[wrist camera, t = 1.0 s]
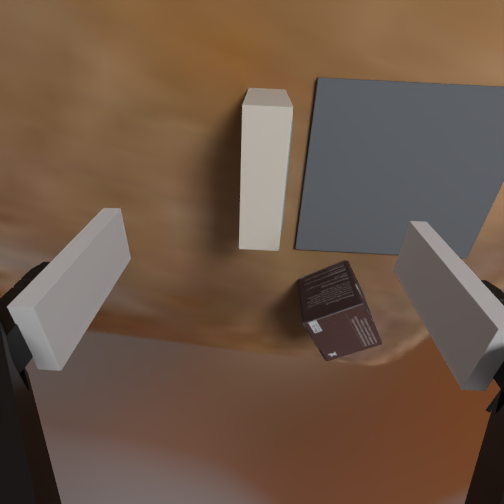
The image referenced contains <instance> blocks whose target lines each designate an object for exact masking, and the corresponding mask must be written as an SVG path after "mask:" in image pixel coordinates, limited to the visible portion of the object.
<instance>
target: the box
mask: <svg viewBox="0 0 504 504" xmlns="http://www.w3.org/2000/svg"><path fill="white" fill-rule="evenodd" d="M298 284H299V292H300V302H301V310H302V318H303V325H304V327H305V328H306V330H307V332H308V333H309V335H310V336H311V338H312V339H313V342H314V344H315V345H316V347H317V348H318V349H319V351H320V352H321V354H322V356H323V357H324V359H325V360H326V361H329V360H333V359H336V358H339V357H342V356H345V355H348V354H352V353H355V352H358V351H361V350H365V349H368V348H371V347H375V346H378V345H381V344H382V341H381V339H380V336H379V334H378V332H377V329H376V326H375V324H374V321H373V319H372V316H371V313H370V310H369V308H368V305H367V303H366V300H365V297H364V295H363V293H362V290H361V288H360V286H359V283H358V281H357V279H356V277H355V275H354V273H353V271H352V269H351V267H350V264H349V262H348V261H346V260H345V261H342V262H340V263H337V264H335V265H332V266H330V267H328V268H325V269H323V270H320V271H318V272H315V273H312V274H310V275H307V276H304V277H302V278H300V279H298Z"/></svg>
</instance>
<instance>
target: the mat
mask: <svg viewBox="0 0 504 504" xmlns="http://www.w3.org/2000/svg"><path fill="white" fill-rule="evenodd" d="M503 181H504V87H500V86H480V85H459V84H439V83H419V82H399V81H379V80H359V79H339V78H318V79H317V87H316V94H315V102H314V109H313V117H312V124H311V132H310V139H309V147H308V155H307V162H306V170H305V177H304V185H303V192H302V200H301V208H300V215H299V223H298V230H297V238H296V245H295V249H301V250H320V251H338V252H357V253H375V254H393V255H399V252H400V249H401V246H402V243H403V240H404V236H405V233H406V230H407V227H408V224H409V221H423V222H427V223H428V224H429V225H430V226H431V227H432V228H433V229H434V230H435V231H436V232H437V234H438V235H439V236H440V237H441V238H442V239H443V240H444V241H445V242H446V243H447V244H448V246H449V247H450V248H451V249H452V250H453V251H454V252H455V253H456V254H457V255H458V256H459V258H467V257H468V255H469V253H470V251H471V249H472V247H473V244H474V242H475V240H476V238H477V236H478V234H479V232H480V230H481V228H482V226H483V223H484V221H485V219H486V217H487V215H488V213H489V211H490V209H491V207H492V204H493V202H494V200H495V198H496V196H497V194H498V192H499V190H500V188H501V186H502V183H503Z"/></svg>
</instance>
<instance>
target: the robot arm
mask: <svg viewBox="0 0 504 504" xmlns="http://www.w3.org/2000/svg"><path fill="white" fill-rule="evenodd" d="M130 259H131V257H130V252H129V248H128V243H127V238H126V233H125V228H124V223H123V218H122V213H121V209H119V208H103V209H102V210H101V211H100V212H99V213H98V214H97V215H96V216H95V217H94V218H93V219H92V220H91V222H90V223H89V224H88V225H87V226H86V227H85V228H84V229H83V230H82V231H81V232H80V233H79V234H78V235H77V236H76V237H75V238H74V239H73V240H72V241H71V242H70V243H69V244H68V245H67V246H66V247H65V248H64V249H63V250H62V251H61V252H60V253H59V254H58V255H57V256H56V257H55V258H54V259H53V260H52V261H51V262H43V263H41V264H40V265H38V266H36V267H34V268H32V269H31V270H30V271H29V272H28V273H27V274H25V275H24V276H23V277H22V278H21V280H19V281H18V282H17V283H16V284H15V285H14V288H11V289H10V290H9V291H8V292H7V293H6V294H5V295H4V296H3V297H2V298H1V299H0V504H61V500H60V496H59V493H58V489H57V484H56V481H55V477H54V473H53V469H52V465H51V461H50V458H49V453H48V449H47V446H46V442H45V438H44V434H43V430H42V426H41V422H40V418H39V415H38V411H37V407H36V403H35V399H34V395H33V391H32V387H31V383H30V380H29V376H28V373H27V371H26V369H25V366H26V365H27V364H28V363H29V361H30V360H31V359H32V358H33V360H34V362H35V364H36V366H37V368H38V370H59V371H61V370H62V368H63V367H64V365H65V364H66V362H67V360H68V359H69V357H70V355H71V354H72V352H73V351H74V349H75V347H76V346H77V344H78V343H79V341H80V340H81V338H82V336H83V335H84V333H85V332H86V330H87V328H88V327H89V325H90V324H91V322H92V320H93V319H94V317H95V316H96V314H97V312H98V311H99V309H100V308H101V306H102V304H103V303H104V301H105V299H106V298H107V296H108V295H109V293H110V291H111V290H112V288H113V287H114V285H115V283H116V282H117V280H118V279H119V277H120V275H121V274H122V272H123V271H124V269H125V267H126V266H127V264H128V263H129V261H130ZM393 271H394V272H395V274H396V276H397V278H398V279H399V281H400V283H401V285H402V286H403V288H404V290H405V292H406V293H407V295H408V297H409V299H410V300H411V302H412V304H413V306H414V307H415V309H416V311H417V313H418V314H419V316H420V318H421V320H422V321H423V323H424V325H425V327H426V328H427V330H428V332H429V334H430V335H431V337H432V339H433V341H434V342H435V344H436V346H437V348H438V349H439V351H440V353H441V354H442V356H443V358H444V360H445V362H446V363H447V365H448V367H449V369H450V370H451V372H452V374H453V376H454V377H455V379H456V381H457V383H458V384H459V386H460V388H461V389H462V390H479V391H485V390H486V389H487V387H488V386H489V384H490V383H491V382H492V380H493V379H495V381H496V383H497V384H498V386H499V387H500V388H501V390H500V391H499V393H498V394H497V395H496V397H495V398H494V399H493V401H492V402H491V404H490V405H489V406H488V408H487V409H486V411H488V412H491V410H492V412H491V415H490V418H489V421H488V425H487V429H486V432H485V436H484V439H483V442H482V446H481V449H480V452H479V456H478V459H477V463H476V466H475V470H474V473H473V477H472V480H471V483H470V487H469V490H468V494H467V497H466V501H465V504H504V293H503V292H502V291H501V290H500V289H499V288H497V287H496V286H494V285H492V284H491V283H489V282H488V281H486V280H480V279H479V278H478V277H477V276H476V275H475V274H474V273H473V272H472V271H471V270H470V268H469V267H468V266H467V265H466V264H465V263H464V262H463V261H462V260H461V259H460V258H459V256H458V255H457V254H456V253H455V252H454V251H453V250H452V249H451V248H450V247H449V246H448V244H447V243H446V242H445V241H444V240H443V239H442V238H441V237H440V236H439V235H438V234H437V232H436V231H435V230H434V229H433V228H432V227H431V226H430V225H429V224H428V223H427V222H423V221H409V224H408V227H407V230H406V233H405V236H404V240H403V243H402V246H401V249H400V252H399V255H398V258H397V261H396V264H395V267H394V270H393Z"/></svg>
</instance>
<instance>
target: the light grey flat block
mask: <svg viewBox="0 0 504 504" xmlns="http://www.w3.org/2000/svg"><path fill="white" fill-rule="evenodd" d="M292 115H293V106H292V103H291V101H290V99H289V97H288V95H287V92H286V90H282V89H262V88H249V89H248V91H247V94H246V96H245V99H244V102H243V104H242V139H241V182H240V225H239V249H252V250H271V251H279V243H280V233H281V232H282V222H283V212H284V202H285V193H286V183H287V173H288V163H289V154H290V144H291V134H292V124H293V121H292Z"/></svg>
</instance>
